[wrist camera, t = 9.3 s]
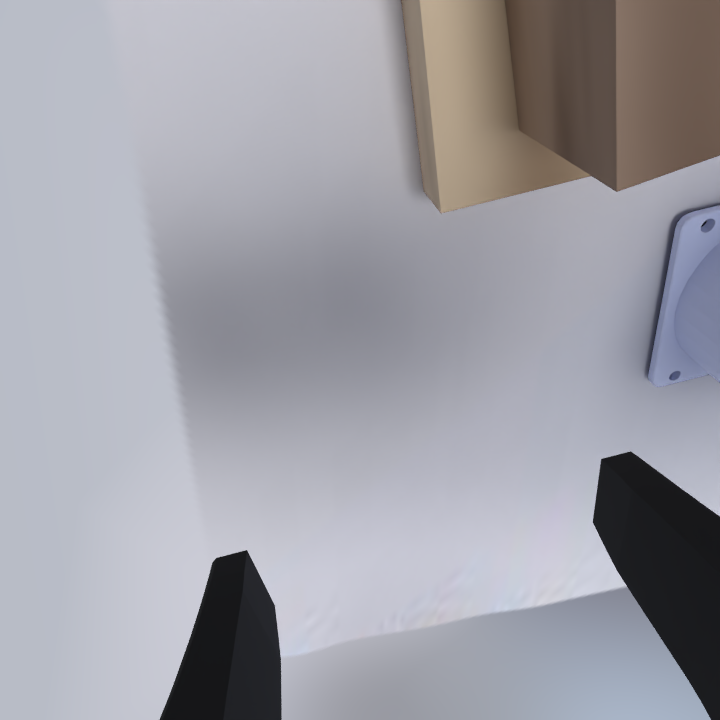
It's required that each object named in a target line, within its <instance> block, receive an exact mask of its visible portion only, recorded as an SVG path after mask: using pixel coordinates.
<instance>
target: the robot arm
mask: <svg viewBox="0 0 720 720" xmlns="http://www.w3.org/2000/svg"><path fill="white" fill-rule="evenodd" d="M706 220H707V222H706V224H705V225H704V226H703V227H701V226H702V224H703V223H704V222H705V221H706ZM709 374H710V375H711V376H712V377H713V378H715V379H716V380H717V381H718V382H719V383H720V205H718V206H714V207H710V208H706V209H702V210H698V211H694V212H690V213H688V214H686V215H684V216H683V217H682V218H681V219H680V220H679V222H678V223H677V225H676V228H675V233H674V239H673V244H672V250H671V255H670V260H669V266H668V271H667V277H666V282H665V288H664V293H663V299H662V304H661V309H660V315H659V320H658V326H657V331H656V337H655V342H654V348H653V353H652V358H651V364H650V369H649V375H648V380H649V381H650V382H651V383H652V384H653V385H654V386H656V387H662V386H666V385H670V384H674V383H678V382H682V381H686V380H689V379H693V378H697V377H701V376H705V375H709ZM593 523H594V525H595V527H596V530H597V532H598V534H599V536H600V538H601V540H602V542H603V544H604V546H605V548H606V550H607V552H608V554H609V556H610V558H611V560H612V562H613V564H614V565H615V567H616V569H617V571H618V573H619V574H620V576H621V577H622V579H623V581H624V582H625V584H626V585H627V587H628V588H629V590H630V591H631V593H632V595H633V596H634V598H635V599H636V601H637V602H638V604H639V605H640V607H641V608H642V610H643V612H644V613H645V614H646V616H647V617H648V619H649V621H650V622H651V624H652V625H653V627H654V628H655V630H656V631H657V633H658V634H659V636H660V637H661V639H662V640H663V642H664V644H665V645H666V646H667V648H668V649H669V651H670V652H671V654H672V655H673V657H674V659H675V660H676V662H677V663H678V665H679V666H680V668H681V670H682V671H683V672H684V674H685V676H686V677H687V679H688V680H689V682H690V684H691V685H692V687H693V688H694V690H695V692H696V693H697V695H698V697H699V699H700V700H701V702H702V704H703V705H704V707H705V709H706V711H707V713H708V715H709V717H710V718H711V720H720V516H718V515H717V514H715V513H714V512H713V511H711V510H710V509H708V508H707V507H706V506H704V505H703V504H701V503H700V502H699V501H697V500H696V499H695V498H693V497H692V496H690V495H689V494H688V493H686V492H685V491H684V490H682V489H681V488H680V487H678V486H677V485H675V484H674V483H673V482H671V481H670V480H669V479H667V478H666V477H665V476H663V475H662V474H661V473H659V472H658V471H657V470H655V469H654V468H653V467H651V466H650V465H649V464H647V463H646V462H645V461H643V460H642V459H641V458H639V457H638V456H637V455H635V454H634V453H632V452H627V453H623V454H619V455H615V456H611V457H608V458H604V459H601V465H600V473H599V480H598V488H597V495H596V503H595V510H594V518H593ZM160 720H281V657H280V648H279V638H278V629H277V621H276V612H275V605H274V603H273V601H272V599H271V597H270V595H269V593H268V591H267V589H266V587H265V585H264V583H263V581H262V579H261V577H260V575H259V573H258V571H257V569H256V567H255V565H254V563H253V561H252V559H251V557H250V555H249V553H248V551H247V550H246V551H242V552H238V553H234V554H230V555H226V556H223V557H219V558H216V559H215V560H214V562H213V563H212V567H211V570H210V574H209V578H208V582H207V585H206V589H205V592H204V596H203V599H202V603H201V606H200V609H199V612H198V615H197V618H196V621H195V624H194V628H193V631H192V634H191V637H190V640H189V643H188V645H187V648H186V651H185V654H184V657H183V660H182V662H181V665H180V668H179V671H178V674H177V676H176V679H175V682H174V685H173V687H172V690H171V693H170V695H169V698H168V700H167V703H166V705H165V708H164V710H163V713H162V715H161V718H160Z"/></svg>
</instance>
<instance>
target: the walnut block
mask: <svg viewBox="0 0 720 720" xmlns="http://www.w3.org/2000/svg"><path fill="white" fill-rule="evenodd" d="M505 6H506V15H507V24H508V33H509V42H510V51H511V60H512V69H513V78H514V87H515V96H516V105H517V114H518V124H519V131H521V132H522V133H524V134H526V135H527V136H529V137H530V138H532V139H534V140H535V141H537V142H538V143H540V144H542V145H543V146H545V147H546V148H548V149H550V150H551V151H553V152H554V153H556V154H557V155H559V156H561V157H562V158H564V159H565V160H567V161H569V162H570V163H572V164H573V165H575V166H577V167H578V168H580V169H581V170H583V171H585V172H586V173H588V174H589V175H591V176H592V177H594V178H596V179H597V180H599V181H600V182H602V183H604V184H605V185H607V186H608V187H610V188H612V189H613V190H615V191H616V192H617V191H620V190H623V189H626V188H629V187H632V186H634V185H637V184H640V183H643V182H646V181H649V180H651V179H654V178H657V177H660V176H663V175H665V174H668V173H671V172H674V171H677V170H680V169H682V168H685V167H688V166H691V165H694V164H697V163H699V162H702V161H705V160H708V159H711V158H714V157H716V156H719V155H720V0H505Z"/></svg>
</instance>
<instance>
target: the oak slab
mask: <svg viewBox="0 0 720 720" xmlns="http://www.w3.org/2000/svg"><path fill="white" fill-rule="evenodd" d="M401 3H402V11H403V20H404V28H405V37H406V45H407V54H408V62H409V71H410V79H411V88H412V96H413V104H414V113H415V121H416V130H417V138H418V147H419V155H420V164H421V172H422V181H423V189H424V192H425V194H426V195H427V196H428V197H429V199H430V200H431V201H432V203H433V204H434V205H435V206H436V208H437V209H438V210H439V211H440V213H445V212H449V211H453V210H457V209H461V208H465V207H469V206H473V205H477V204H481V203H485V202H489V201H493V200H497V199H501V198H505V197H509V196H513V195H517V194H521V193H525V192H529V191H533V190H537V189H541V188H545V187H549V186H553V185H557V184H561V183H565V182H569V181H573V180H577V179H581V178H585V177H589V176H591V175H589V174H588V173H586V172H585V171H583V170H581V169H580V168H578V167H577V166H575V165H573V164H572V163H570V162H569V161H567V160H565V159H564V158H562V157H561V156H559V155H557V154H556V153H554V152H553V151H551V150H550V149H548V148H546V147H545V146H543V145H542V144H540V143H538V142H537V141H535V140H534V139H532V138H530V137H529V136H527V135H526V134H524V133H522V132H521V131H519V124H518V114H517V105H516V96H515V87H514V78H513V69H512V60H511V51H510V42H509V33H508V24H507V15H506V6H505V0H401Z"/></svg>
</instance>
